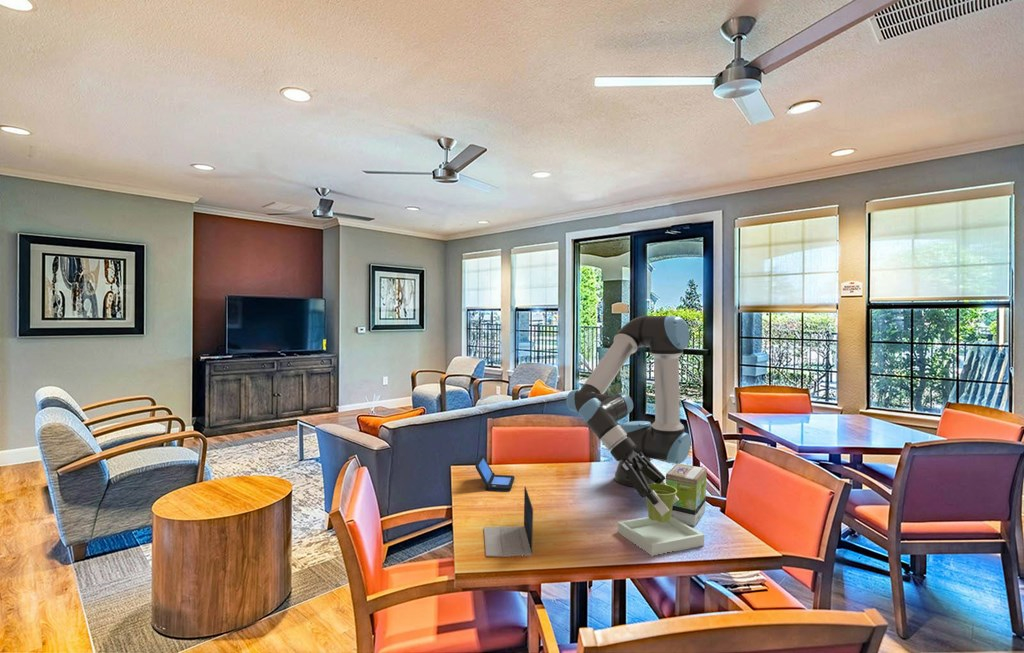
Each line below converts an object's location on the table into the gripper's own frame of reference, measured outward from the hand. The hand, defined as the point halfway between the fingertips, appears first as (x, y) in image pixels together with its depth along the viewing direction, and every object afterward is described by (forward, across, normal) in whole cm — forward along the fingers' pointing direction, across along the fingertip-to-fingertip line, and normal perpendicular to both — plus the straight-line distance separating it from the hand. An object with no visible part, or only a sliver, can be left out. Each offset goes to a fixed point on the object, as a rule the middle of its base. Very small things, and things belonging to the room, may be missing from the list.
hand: (670, 507), depth 142 cm
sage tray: (+5, 0, -9) cm, 10 cm away
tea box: (+6, -22, -8) cm, 24 cm away
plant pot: (+1, 0, -5) cm, 5 cm away
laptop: (-20, +26, -35) cm, 48 cm away
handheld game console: (-41, -12, -56) cm, 71 cm away
